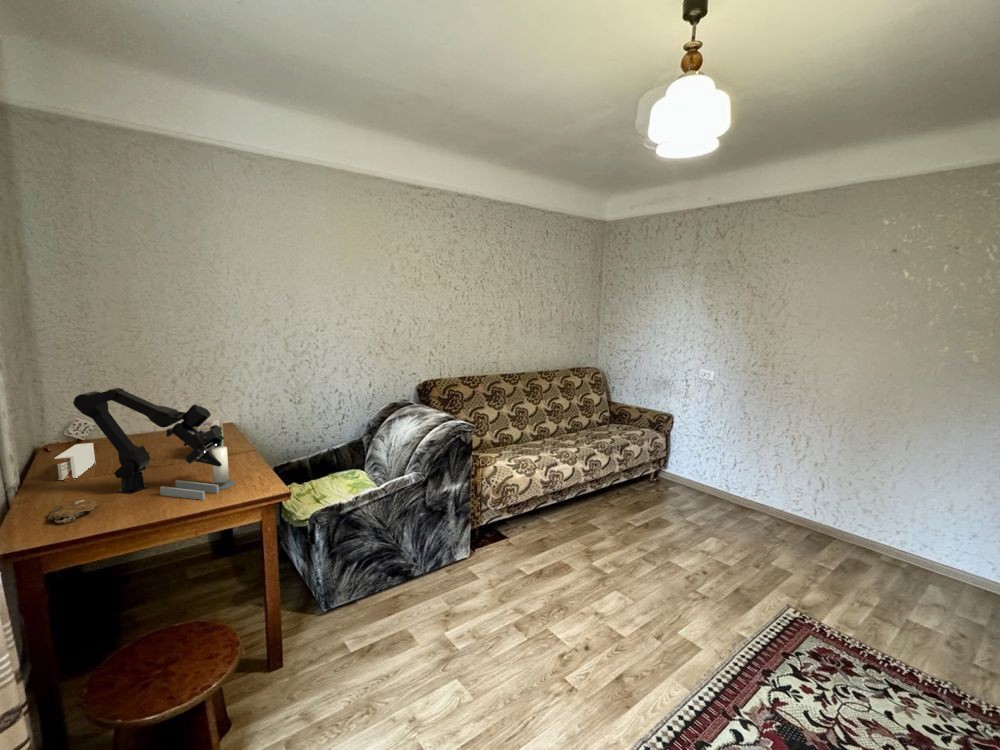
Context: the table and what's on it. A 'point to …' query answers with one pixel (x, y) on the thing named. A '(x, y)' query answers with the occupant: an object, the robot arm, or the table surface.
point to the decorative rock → (71, 510)
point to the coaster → (225, 484)
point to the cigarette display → (76, 460)
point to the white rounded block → (221, 472)
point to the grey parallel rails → (189, 490)
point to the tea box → (208, 424)
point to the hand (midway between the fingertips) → (224, 463)
